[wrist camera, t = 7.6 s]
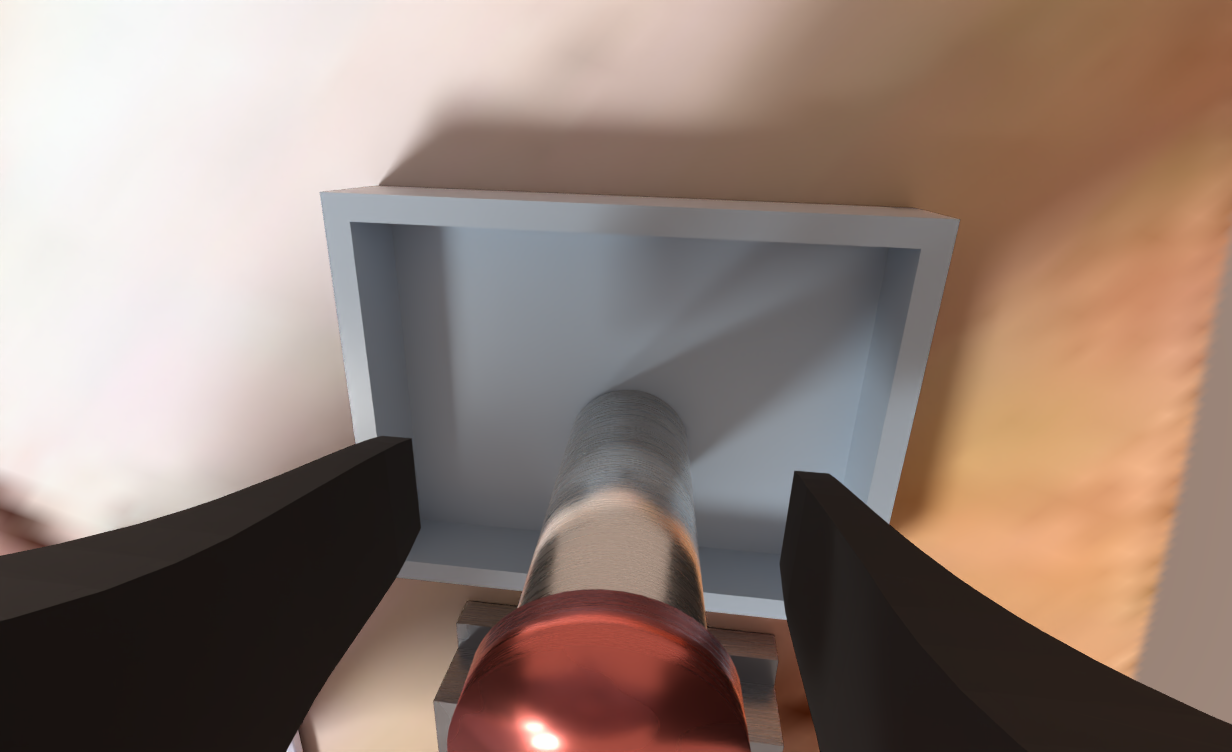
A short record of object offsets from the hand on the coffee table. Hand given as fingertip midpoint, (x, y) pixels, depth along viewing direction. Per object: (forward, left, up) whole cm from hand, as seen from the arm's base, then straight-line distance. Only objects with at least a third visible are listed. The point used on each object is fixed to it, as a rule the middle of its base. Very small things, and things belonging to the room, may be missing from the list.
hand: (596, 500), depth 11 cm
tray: (0, 0, -6) cm, 6 cm away
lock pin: (0, -1, -5) cm, 5 cm away
